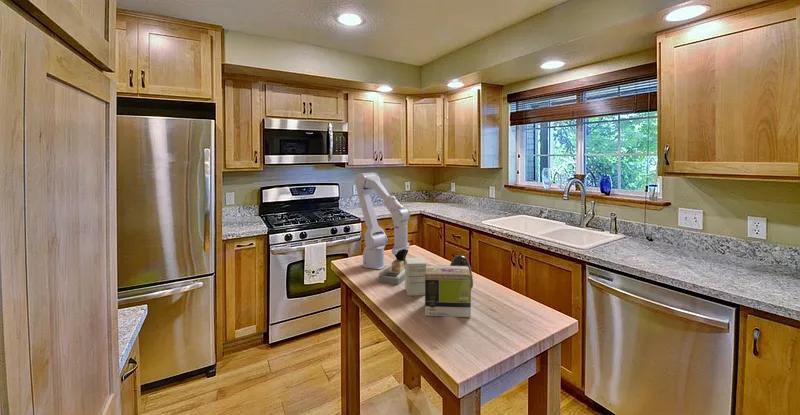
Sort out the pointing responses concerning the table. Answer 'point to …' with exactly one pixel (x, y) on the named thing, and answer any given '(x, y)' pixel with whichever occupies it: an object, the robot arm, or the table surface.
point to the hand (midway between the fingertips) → (400, 266)
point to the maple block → (397, 266)
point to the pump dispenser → (462, 264)
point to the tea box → (447, 291)
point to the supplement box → (415, 276)
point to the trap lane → (391, 276)
